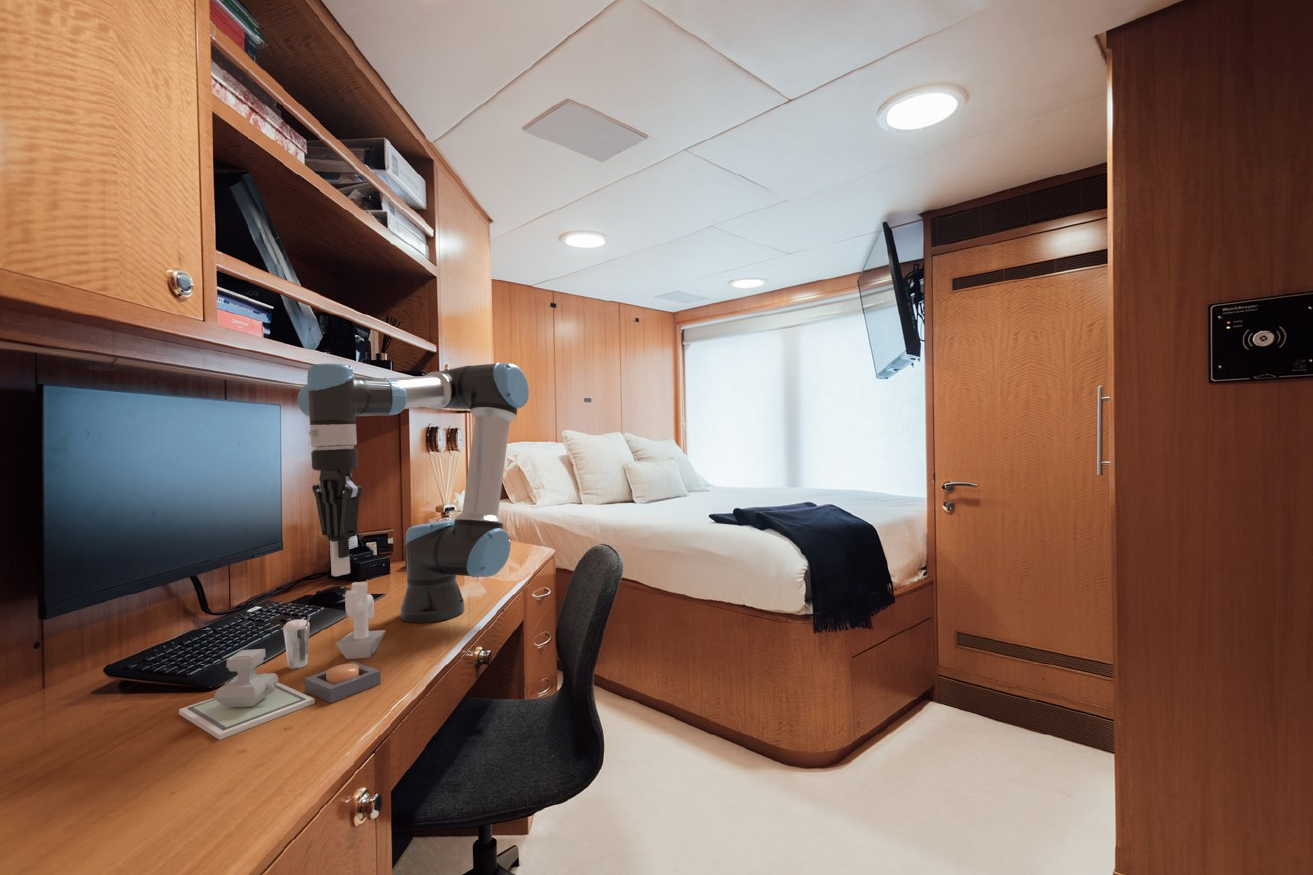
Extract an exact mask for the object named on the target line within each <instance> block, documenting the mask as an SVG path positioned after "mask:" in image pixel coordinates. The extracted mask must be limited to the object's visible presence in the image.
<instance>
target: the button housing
mask: <svg viewBox="0 0 1313 875" xmlns="http://www.w3.org/2000/svg"><path fill="white" fill-rule="evenodd" d="M346 664H357V665H358V666H359V676H357V677H354V678H352V679H349V680H346V681H343V682H341V683H338V684H335V685H333V684H331V683H329V682H326V671H327V670H324V671H321V672H318V673H315V674H313V675H310V676H307V677H304V678H303V679H304V682H303V683H304V692H305V693H308V694H309V695H311V696H314V697H316V698H319V699H321V700H324V701H326V702H328V703H330V704H333V703H335V702H337V701H340V700H344V699H346V698H348V697H351V696H353V695H356V694H358V693H361V692H363V691H365V690H369V689H371V688H374V687H375V686H379V685H381V684H382V683H381V682H382V681H381V670H379V669H375V668H374V667H370V666H368V665H365V664H362V663H359V662H356V661H350V662H347V663H346Z"/></svg>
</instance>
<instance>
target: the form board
mask: <svg viewBox="0 0 1313 875" xmlns="http://www.w3.org/2000/svg"><path fill="white" fill-rule="evenodd" d="M274 687H275V691H274V692H273V693H271V694H269V695H268V696H266V697H265V698H264V699H262V700H261V701H259V702H258V703H257V704H255V705H254V706H251V707H229V708H226V707H225V706H224V705H222V704H221V703H219V702H218V701H217V700H215V699H214V697H213V698H209V699H207V700H202V701H199V702H198V703H194V704H191V705H188V706H185V707H182V708H179V709H178V715H180V716H181V717H183V719H186V720H187V721H188V722H191V723H192V724H194V725H195V726H197V727H198V728H200V729H201V730H203V731H205V732H206V733H208V735H209V734H210V735H212V736H213V737H214V738H216V739H217V740H219V741H220V740H221V741H222V740H223V739H226V738H228V737H230V736H234V735H236V734H239V733H241V732H244V731H246V730H249V729H251V728H254V727H257V726H259V725H262V724H265V723H267V722H270V721H272V720H275V719H277V718H280V717H283V716H285V715H287V714H288V715H289V714H290V713H291V714H292V713H294V712H296V711H299V710H301V709H304V708H306V707H309V706H312V705H314V704H315V703H316V702H315V701H316V699H315V698H313V697H311V696H310V695H308V694H305V693H303V692H300V691H298V690H296V689H293V688H292V687H290V686H288V685H285V684H283V683H280V682H278V681H277V683H276V685H275V686H274Z"/></svg>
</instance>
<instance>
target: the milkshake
mask: <svg viewBox="0 0 1313 875" xmlns="http://www.w3.org/2000/svg"><path fill="white" fill-rule="evenodd" d="M310 619H311V616H308V617H307V619H303V618H302V619H292V620H289V621H287V622H286V623H285V624H284V626H283V627H282V631H283V636H284V644H285V651H286V660H287V668H289V669H290V670H297V669H301V668H304V667H305V666H307V665H308V660H309V639H310V638H309V637H310V624H311V623H310Z"/></svg>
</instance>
